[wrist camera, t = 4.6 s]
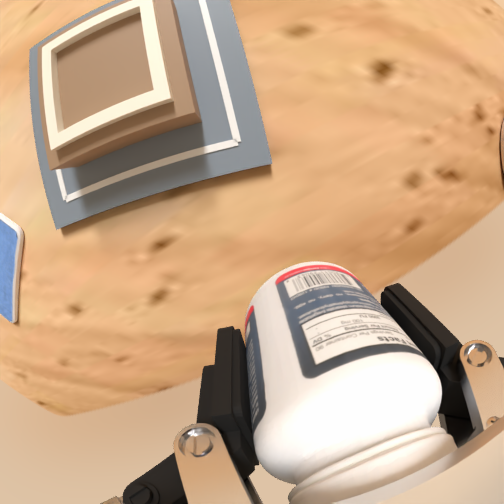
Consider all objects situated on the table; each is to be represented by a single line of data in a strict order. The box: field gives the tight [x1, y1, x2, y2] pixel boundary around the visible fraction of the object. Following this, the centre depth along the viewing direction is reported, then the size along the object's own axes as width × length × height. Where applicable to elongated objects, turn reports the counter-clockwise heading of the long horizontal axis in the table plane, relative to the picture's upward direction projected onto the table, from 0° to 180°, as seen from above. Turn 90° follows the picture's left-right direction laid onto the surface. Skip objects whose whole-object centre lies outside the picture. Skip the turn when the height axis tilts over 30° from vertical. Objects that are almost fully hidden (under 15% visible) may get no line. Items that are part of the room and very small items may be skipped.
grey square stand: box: [29, 0, 272, 230], centre depth 13 cm, size 18×18×6 cm
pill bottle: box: [245, 262, 458, 504], centre depth 7 cm, size 5×5×9 cm
